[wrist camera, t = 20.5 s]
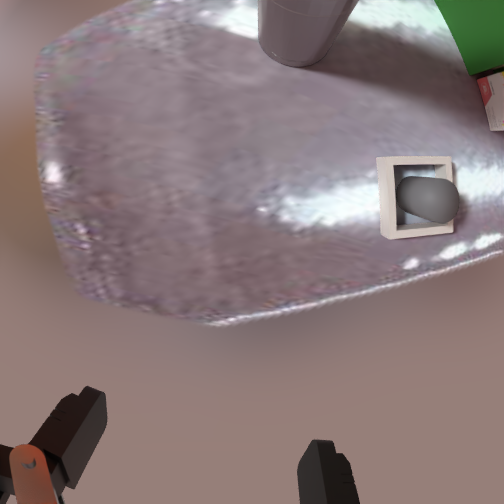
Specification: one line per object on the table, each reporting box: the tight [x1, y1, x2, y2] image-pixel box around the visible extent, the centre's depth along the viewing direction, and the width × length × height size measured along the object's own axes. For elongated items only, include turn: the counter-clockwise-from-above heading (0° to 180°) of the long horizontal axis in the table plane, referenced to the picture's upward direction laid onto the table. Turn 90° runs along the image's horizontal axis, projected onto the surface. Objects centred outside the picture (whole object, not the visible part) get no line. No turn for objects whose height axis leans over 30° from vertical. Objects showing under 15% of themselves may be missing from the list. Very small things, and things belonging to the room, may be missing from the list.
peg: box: [396, 176, 459, 224], centre depth 33 cm, size 5×5×8 cm
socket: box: [376, 156, 453, 240], centre depth 35 cm, size 10×10×3 cm
